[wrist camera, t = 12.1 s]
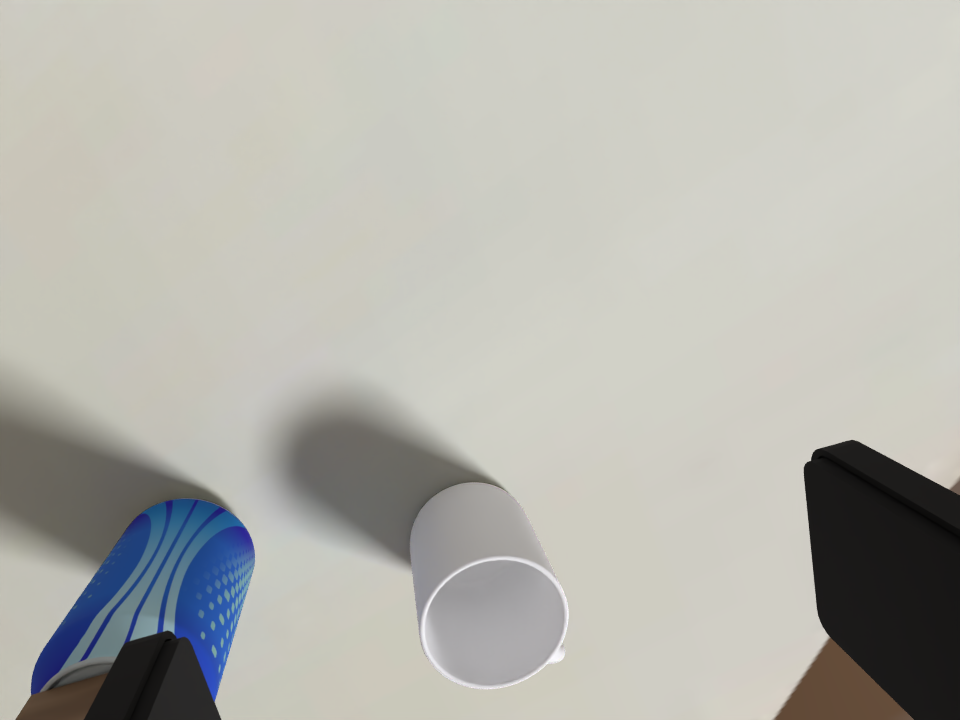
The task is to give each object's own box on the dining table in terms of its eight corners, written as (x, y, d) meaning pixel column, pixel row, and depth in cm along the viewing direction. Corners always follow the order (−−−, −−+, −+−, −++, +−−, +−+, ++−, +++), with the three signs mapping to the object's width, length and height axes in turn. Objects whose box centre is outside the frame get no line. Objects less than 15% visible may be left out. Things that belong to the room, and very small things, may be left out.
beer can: (135, 479, 46) (17, 630, 30) (268, 500, 47) (220, 653, 32) (117, 594, 47) (-3, 793, 32) (246, 610, 49) (190, 806, 34)
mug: (498, 636, 53) (529, 746, 42) (382, 538, 49) (387, 631, 39) (582, 558, 52) (635, 650, 42) (471, 453, 49) (499, 526, 38)
